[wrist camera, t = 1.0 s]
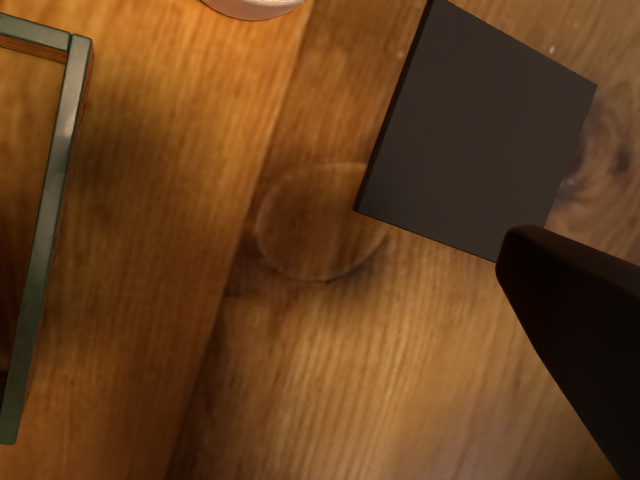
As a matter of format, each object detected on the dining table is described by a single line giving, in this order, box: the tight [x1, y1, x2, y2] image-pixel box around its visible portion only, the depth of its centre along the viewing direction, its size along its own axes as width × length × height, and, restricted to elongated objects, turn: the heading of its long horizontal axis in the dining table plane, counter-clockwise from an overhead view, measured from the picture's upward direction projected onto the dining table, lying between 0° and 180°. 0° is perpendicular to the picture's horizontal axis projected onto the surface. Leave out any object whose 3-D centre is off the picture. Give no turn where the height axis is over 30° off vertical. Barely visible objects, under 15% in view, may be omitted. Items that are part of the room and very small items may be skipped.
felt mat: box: [353, 0, 597, 263], centre depth 28 cm, size 10×10×1 cm
